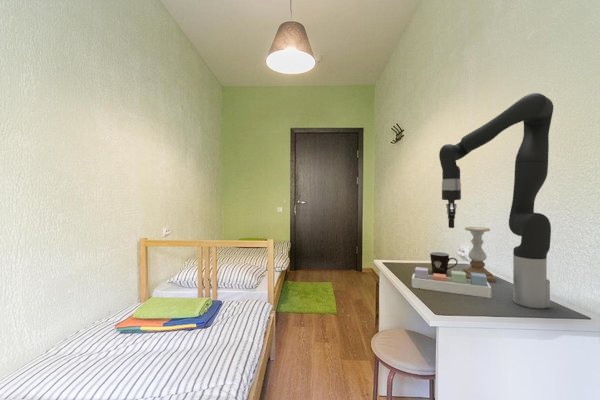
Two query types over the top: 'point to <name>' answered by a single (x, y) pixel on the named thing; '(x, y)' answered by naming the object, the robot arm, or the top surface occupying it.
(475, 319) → the top surface
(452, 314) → the top surface
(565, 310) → the top surface
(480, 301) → the top surface
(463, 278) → the sage green key
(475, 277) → the light blue block
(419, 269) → the lavender block
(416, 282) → the frame
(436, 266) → the coffee mug
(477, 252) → the candle holder
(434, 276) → the terracotta key
